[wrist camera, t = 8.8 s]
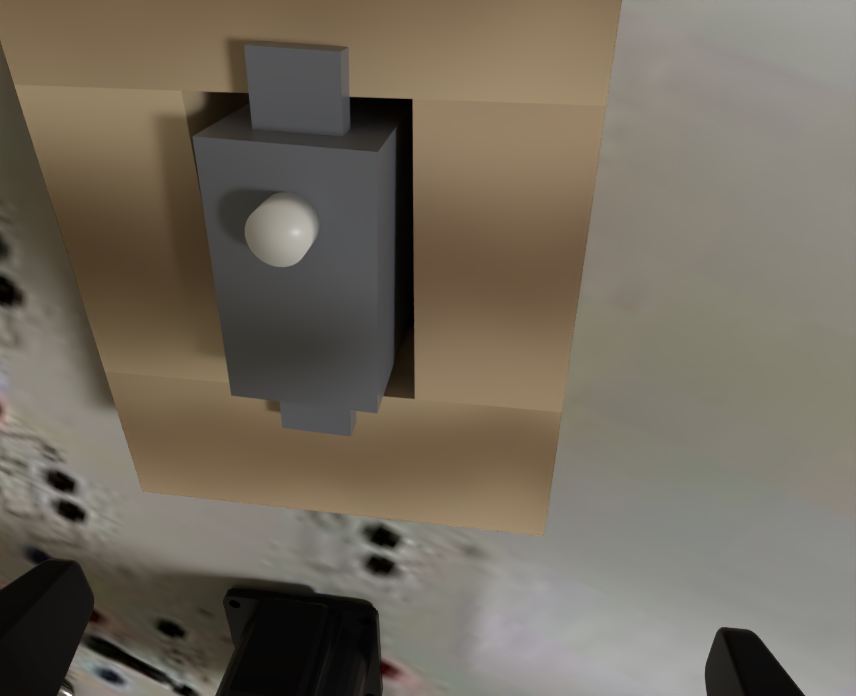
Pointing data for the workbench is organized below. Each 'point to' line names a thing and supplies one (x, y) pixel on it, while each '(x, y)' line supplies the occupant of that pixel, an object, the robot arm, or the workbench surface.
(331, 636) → the robot arm
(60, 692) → the lightbulb
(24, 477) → the workbench surface
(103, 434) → the workbench surface
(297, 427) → the servo
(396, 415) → the tan flat block
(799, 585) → the workbench surface
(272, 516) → the workbench surface
